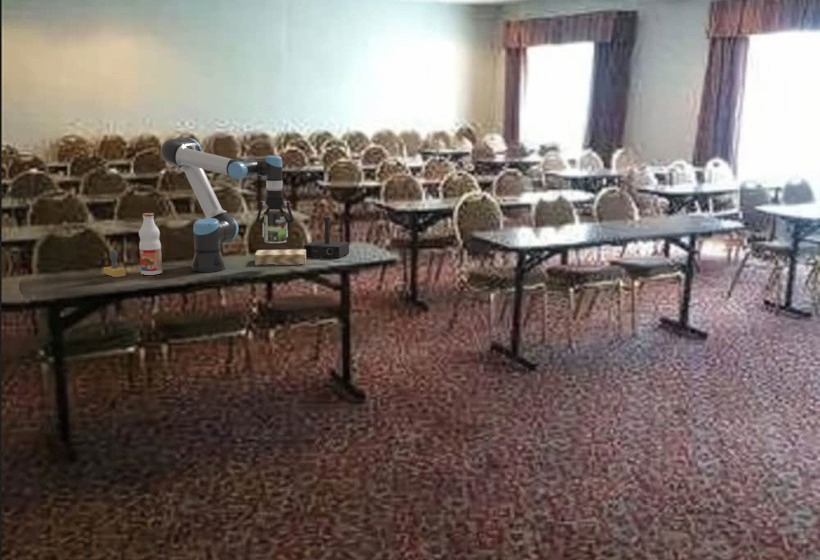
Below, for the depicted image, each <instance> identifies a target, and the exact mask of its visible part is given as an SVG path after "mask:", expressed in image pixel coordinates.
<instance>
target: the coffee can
mask: <svg viewBox="0 0 820 560" xmlns="http://www.w3.org/2000/svg"><path fill="white" fill-rule="evenodd" d="M263 215H264V221H263V223H264V235H265V237H264V243H266V244H284V243H287V237H286V223H287V221H286V220H285V215H287V212H286V211H285V210H284V213H281V211H280V210H269V212H268V213H266V211H263Z"/></svg>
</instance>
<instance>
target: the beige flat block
mask: <svg viewBox="0 0 820 560" xmlns="http://www.w3.org/2000/svg"><path fill="white" fill-rule="evenodd" d="M306 262H307V256H306V249H302V248H301V249H257V250H256V252H255V253H254V266H261V265H260V264H265V265H264V266H268V265H267V264H275V265H274V266H280V265H281V266H286V265H287V266H288V265H289V266H292V265H293V266H294V265H296V266H297V265H300V264H303V266H304V265H306ZM258 264H259V265H258Z"/></svg>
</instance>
